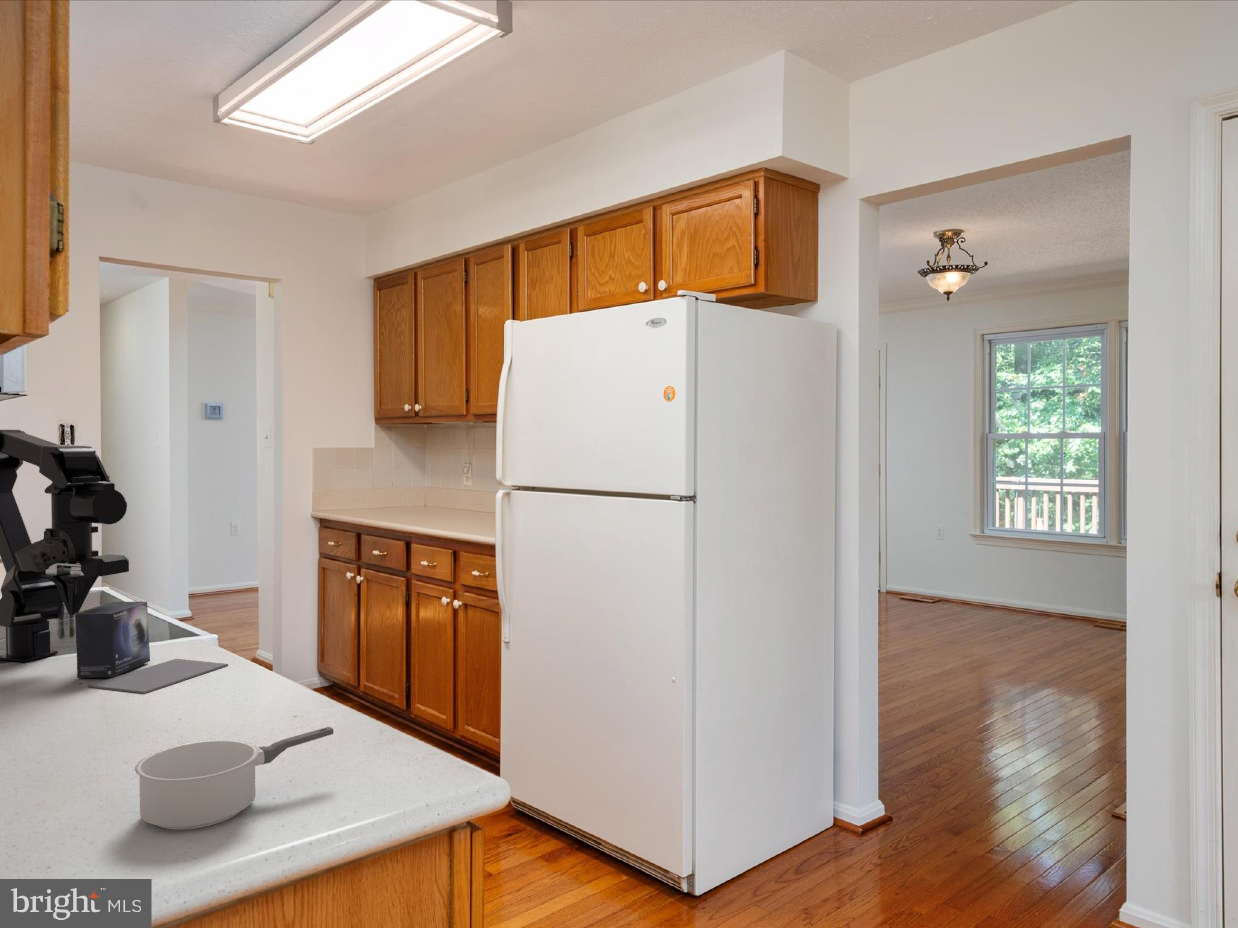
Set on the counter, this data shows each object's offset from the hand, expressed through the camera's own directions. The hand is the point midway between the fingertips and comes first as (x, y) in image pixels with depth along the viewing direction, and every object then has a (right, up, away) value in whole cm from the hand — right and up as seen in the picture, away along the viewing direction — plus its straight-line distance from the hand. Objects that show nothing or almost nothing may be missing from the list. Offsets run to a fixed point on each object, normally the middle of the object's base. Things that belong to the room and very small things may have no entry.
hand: (73, 614), depth 146 cm
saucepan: (+51, -11, -53) cm, 75 cm away
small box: (+9, -9, -3) cm, 13 cm away
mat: (+18, -9, -5) cm, 20 cm away
